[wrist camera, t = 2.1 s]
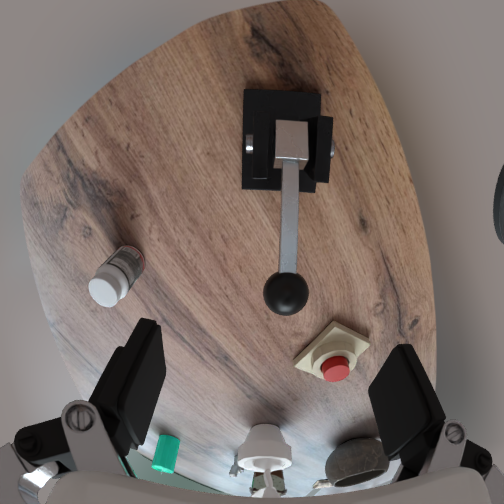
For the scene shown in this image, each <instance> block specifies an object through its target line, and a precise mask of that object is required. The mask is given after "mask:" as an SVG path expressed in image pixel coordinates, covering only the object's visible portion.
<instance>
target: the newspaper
mask: <svg viewBox="0 0 504 504" xmlns="http://www.w3.org/2000/svg"><path fill="white" fill-rule="evenodd" d="M325 487H333V485H332V484H331V483H330V482H329V480H323V481H317V482H316V483H315V484H314V485H313V489H315V488H325Z"/></svg>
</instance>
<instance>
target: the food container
mask: <svg viewBox="0 0 504 504" xmlns="http://www.w3.org/2000/svg"><path fill="white" fill-rule="evenodd" d="M263 475H264V472H254V477H253V482H252V488H251V487H250V488H249V489H250V492H251V494H254V493H255V492H257V491H258V490H259V489H262V488H266V484H265V481H264V477H263ZM270 475H271V478H272V481H273V487H275V488H276V491H277V492H278V493H279V495H280V496H282V495H286V492H287V489H286V490H285V484H284V477H283V470H276V471H273V472H271V474H270Z"/></svg>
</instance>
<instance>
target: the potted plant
mask: <svg viewBox="0 0 504 504" xmlns="http://www.w3.org/2000/svg"><path fill="white" fill-rule="evenodd" d="M237 462H238V466H240V467H242V468H244V469H247V470H253V471H254V472H264V475H263V477H264V481H265V484H266V488H262V489H259V490H258V491H257V492H255V493H254V494H252V495H251V497H260V498H281V497H280V495H279V493H278V492H277V491H276V488H275V487H273V481H272V478H271V475H270V474H271V472H273V471H276V470H282V469H285V468H287V467H289V466H291V462H292V457H291V446H289V445H288V444H286V442H285V440H284V438H283V435H282V433H281V431H280V429H279V428H278V427H277V426H275V425H271V424H259V425H256V426H254V427H252V428H251V430H250V432H249V434H248V436H247V438H246V440H245V442H244V444H242V445H241V446H239V448H238V460H237Z"/></svg>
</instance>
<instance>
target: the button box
mask: <svg viewBox="0 0 504 504" xmlns="http://www.w3.org/2000/svg"><path fill="white" fill-rule="evenodd" d="M370 345H371V343H370V341H369V338H367V337H365V336H363V335H361V334H359V333H357V332H355V331H353V330H351V329H349V328H347V327H345V326H343V325H341V324H339V323H338V322H336V321H332V322H331V323H330V324H329V325H328V326H327V327H326V329H325V330H324V331H323V332H322V333H321V334H320V335H319V336H318V337H317V338H316V339H315V340H314V341H313V342H312V343H311V344H309V345H308V346H307V347H306V348H305V349H304V350H303V351H302V352H301V353H300V354H299V355H298V356H297V357H296V358H295V359H294V360H293V366H294V367H296V368H298V369H301V370H303V371H306V372H309V373H311V374H314V375H315V376H316V377H318V378H321V379H324V376H323V371H322V363H323V362H324V361H325V360H326V359H328V358H330V357H333V356H344V357H345V358H346V359H347V362H348V366H349V369H350V371H351V370H353V369H354V367H355V365H356V363H357V357H358V356H359V355H360V354H361V353H362V352H363V351H364V350H366V349H367V348H368V347H369V346H370ZM324 380H325V379H324Z"/></svg>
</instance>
